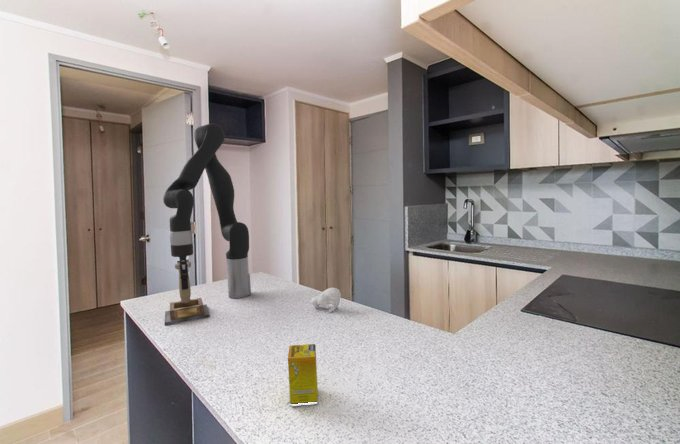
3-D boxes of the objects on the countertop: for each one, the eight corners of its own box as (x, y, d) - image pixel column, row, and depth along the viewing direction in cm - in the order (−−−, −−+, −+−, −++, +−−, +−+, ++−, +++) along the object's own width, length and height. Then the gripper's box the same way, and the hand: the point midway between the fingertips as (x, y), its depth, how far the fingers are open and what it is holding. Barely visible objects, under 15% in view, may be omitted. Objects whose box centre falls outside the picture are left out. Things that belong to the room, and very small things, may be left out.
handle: (196, 299, 128) (193, 261, 126) (187, 305, 121) (184, 265, 120) (184, 299, 128) (181, 261, 127) (174, 305, 122) (171, 265, 120)
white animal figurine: (334, 290, 121) (306, 290, 126) (337, 313, 122) (309, 312, 127) (341, 285, 127) (314, 286, 132) (344, 307, 128) (316, 307, 132)
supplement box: (291, 390, 75) (289, 345, 74) (317, 388, 76) (315, 343, 75) (289, 407, 69) (287, 358, 68) (318, 405, 70) (316, 356, 69)
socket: (206, 306, 134) (206, 296, 134) (210, 316, 123) (209, 305, 122) (165, 313, 128) (164, 302, 127) (164, 325, 116) (163, 313, 116)
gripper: (193, 244, 118) (196, 290, 120) (191, 239, 131) (194, 282, 132) (170, 246, 115) (173, 294, 116) (170, 241, 127) (173, 284, 129)
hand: (185, 287), depth 124 cm, fingers closed on handle, 4 cm apart
